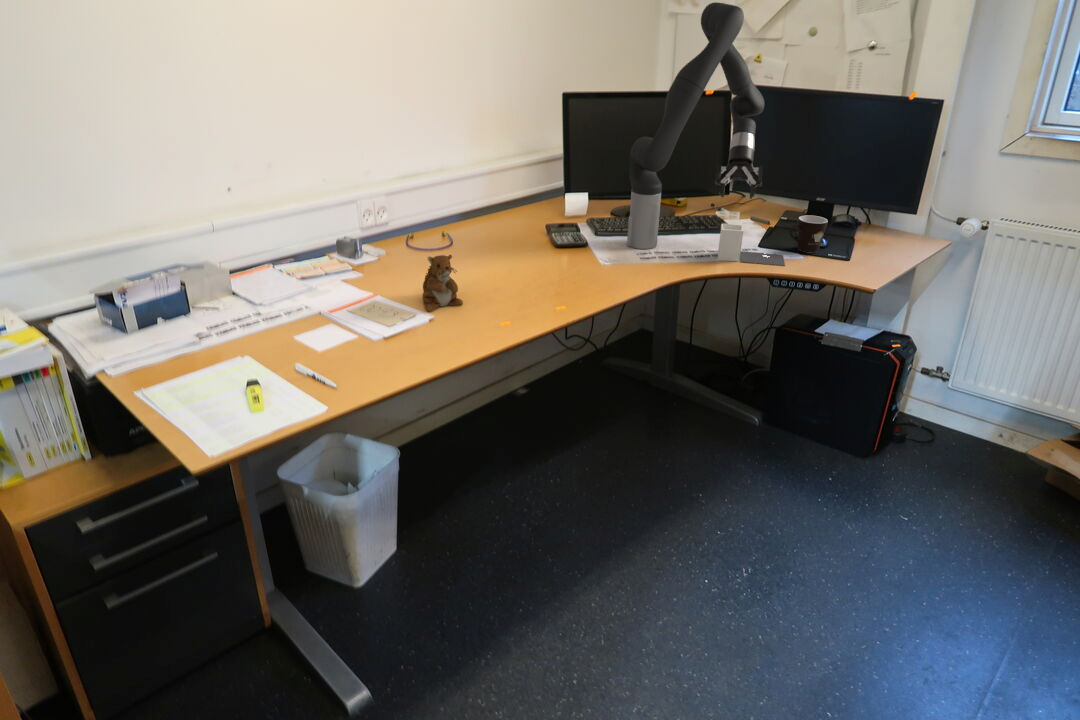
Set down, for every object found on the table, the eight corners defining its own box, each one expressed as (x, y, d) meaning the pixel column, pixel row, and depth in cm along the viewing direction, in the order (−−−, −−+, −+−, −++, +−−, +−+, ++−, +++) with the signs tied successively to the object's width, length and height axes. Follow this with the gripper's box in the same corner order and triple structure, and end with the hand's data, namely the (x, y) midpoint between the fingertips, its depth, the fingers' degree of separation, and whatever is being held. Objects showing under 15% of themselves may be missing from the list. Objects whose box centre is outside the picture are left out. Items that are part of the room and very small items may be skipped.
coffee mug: (818, 246, 239) (824, 216, 234) (824, 255, 231) (831, 223, 227) (781, 244, 240) (786, 214, 235) (786, 253, 232) (791, 222, 228)
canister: (717, 259, 226) (721, 229, 222) (717, 253, 232) (721, 223, 228) (739, 261, 225) (743, 231, 221) (738, 254, 231) (743, 225, 226)
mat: (740, 262, 224) (740, 261, 224) (739, 251, 233) (739, 251, 233) (784, 266, 222) (785, 265, 222) (782, 255, 231) (783, 254, 230)
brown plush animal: (428, 314, 188) (425, 264, 181) (413, 294, 199) (410, 247, 193) (465, 308, 191) (464, 259, 185) (449, 289, 203) (447, 242, 197)
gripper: (718, 143, 233) (713, 190, 229) (765, 144, 229) (761, 191, 225) (718, 156, 240) (713, 201, 236) (764, 157, 236) (759, 203, 232)
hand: (736, 196), depth 231 cm, fingers open, 8 cm apart
